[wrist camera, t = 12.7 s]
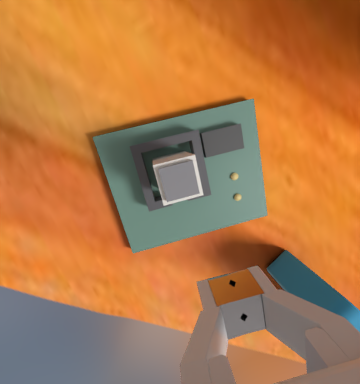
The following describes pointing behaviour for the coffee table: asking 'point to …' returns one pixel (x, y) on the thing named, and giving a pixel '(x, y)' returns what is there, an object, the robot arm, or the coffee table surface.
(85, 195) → the coffee table surface
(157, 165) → the plug
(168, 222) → the board
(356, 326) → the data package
